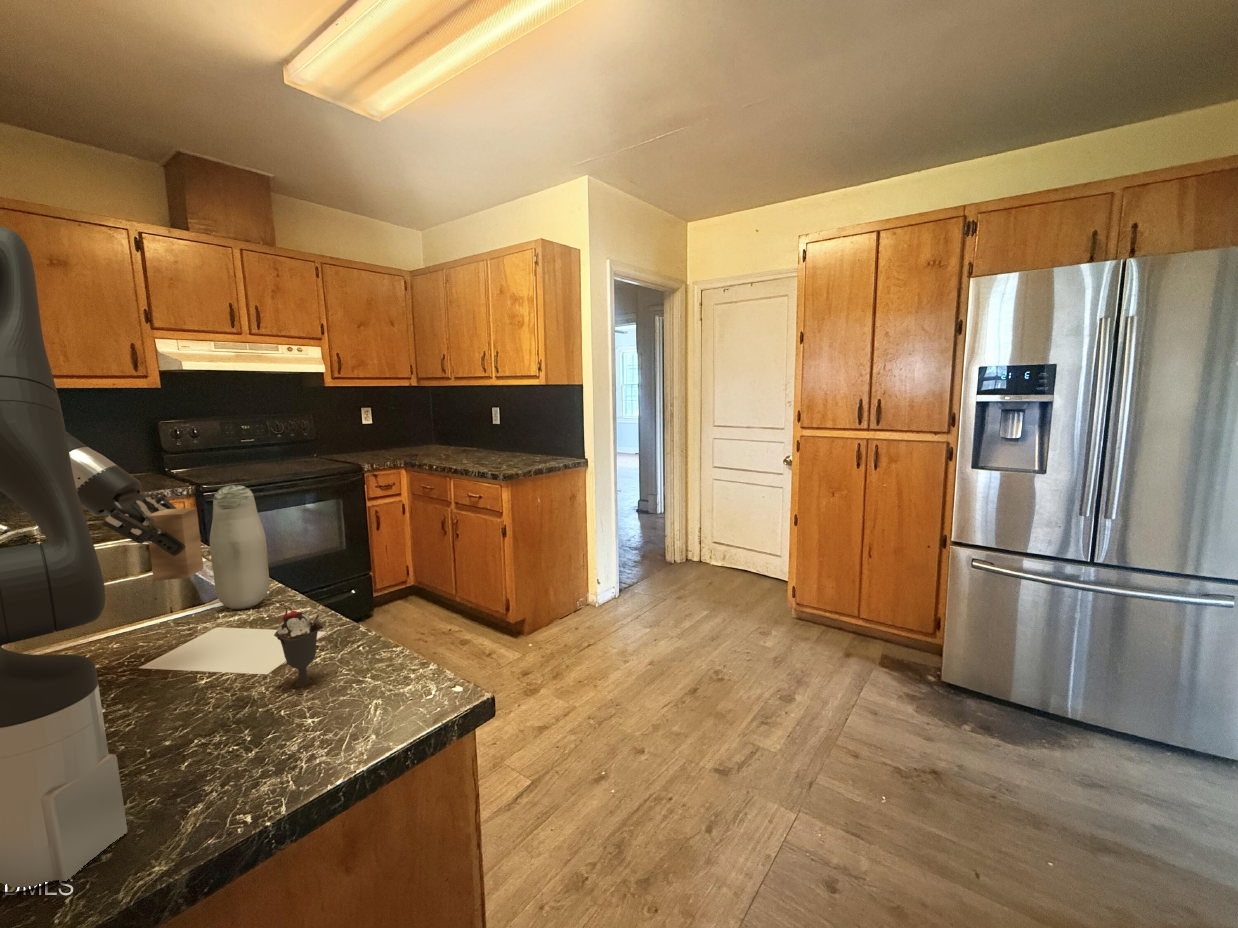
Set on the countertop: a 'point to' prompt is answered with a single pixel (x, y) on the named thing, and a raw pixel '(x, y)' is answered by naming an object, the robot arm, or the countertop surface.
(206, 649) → the cream sheet of paper
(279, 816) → the countertop surface
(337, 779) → the countertop surface
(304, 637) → the sundae
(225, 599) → the glass bottle
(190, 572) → the walnut block
